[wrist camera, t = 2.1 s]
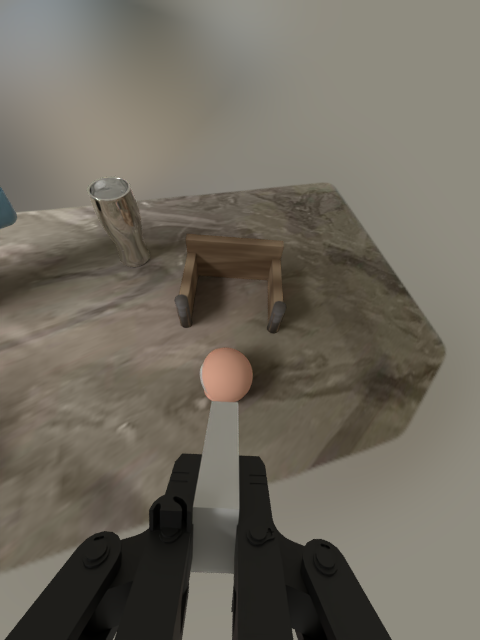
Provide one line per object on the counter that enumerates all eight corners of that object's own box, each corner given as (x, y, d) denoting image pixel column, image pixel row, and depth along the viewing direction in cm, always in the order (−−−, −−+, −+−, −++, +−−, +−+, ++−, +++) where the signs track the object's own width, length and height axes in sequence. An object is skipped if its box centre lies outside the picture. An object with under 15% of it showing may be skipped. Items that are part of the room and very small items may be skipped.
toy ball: (209, 355, 44) (207, 332, 37) (254, 367, 43) (261, 345, 36) (193, 402, 39) (187, 386, 33) (243, 416, 39) (247, 402, 32)
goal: (278, 333, 47) (289, 304, 39) (179, 327, 46) (171, 296, 38) (275, 275, 54) (284, 241, 46) (190, 269, 53) (185, 233, 46)
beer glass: (125, 242, 56) (97, 172, 44) (156, 247, 56) (138, 178, 43) (112, 266, 53) (77, 197, 40) (145, 271, 52) (121, 203, 40)
